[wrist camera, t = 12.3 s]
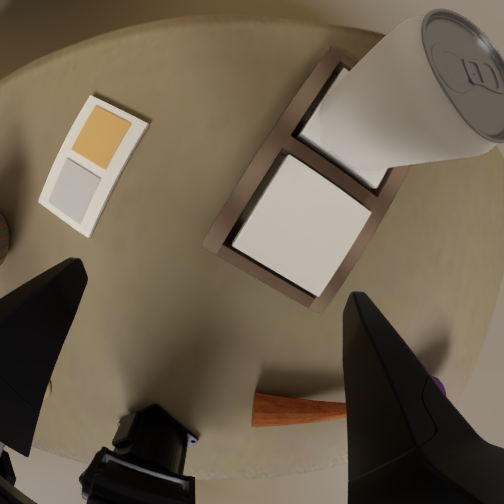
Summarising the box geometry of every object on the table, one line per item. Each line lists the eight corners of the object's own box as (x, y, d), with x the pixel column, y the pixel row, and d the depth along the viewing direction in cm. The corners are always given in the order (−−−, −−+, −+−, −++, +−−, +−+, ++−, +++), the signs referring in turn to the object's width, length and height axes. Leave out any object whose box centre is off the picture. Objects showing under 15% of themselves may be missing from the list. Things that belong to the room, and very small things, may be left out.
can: (306, 89, 17) (383, -15, 5) (384, 85, 17) (490, 20, 5) (329, 177, 18) (450, 159, 7) (406, 165, 18) (536, 153, 7)
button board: (314, 305, 22) (321, 315, 20) (203, 241, 21) (200, 245, 19) (417, 128, 20) (430, 124, 18) (323, 56, 18) (330, 45, 17)
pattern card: (90, 237, 20) (88, 238, 20) (40, 201, 19) (37, 201, 19) (149, 124, 19) (147, 123, 18) (92, 96, 18) (89, 94, 18)
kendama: (255, 397, 20) (463, 382, 19) (256, 368, 26) (433, 364, 25) (249, 453, 20) (445, 432, 19) (251, 418, 25) (420, 409, 25)
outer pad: (367, 188, 20) (376, 188, 19) (296, 137, 19) (300, 133, 18) (402, 124, 19) (411, 121, 18) (337, 74, 18) (343, 67, 17)
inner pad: (313, 290, 20) (318, 297, 18) (232, 242, 19) (231, 245, 18) (362, 211, 19) (371, 212, 18) (284, 157, 18) (288, 154, 17)
